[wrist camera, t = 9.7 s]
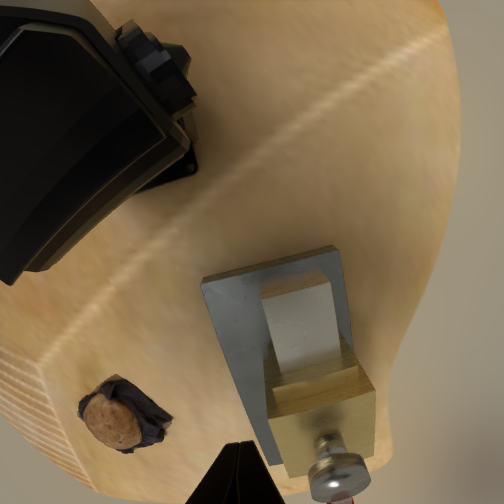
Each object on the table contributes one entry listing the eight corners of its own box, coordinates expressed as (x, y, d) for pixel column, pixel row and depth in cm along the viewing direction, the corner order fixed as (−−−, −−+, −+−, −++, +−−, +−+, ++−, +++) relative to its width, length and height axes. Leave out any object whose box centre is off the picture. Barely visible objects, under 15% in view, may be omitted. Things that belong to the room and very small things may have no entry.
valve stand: (268, 455, 24) (273, 529, 14) (203, 277, 19) (168, 348, 10) (354, 434, 23) (380, 503, 14) (332, 245, 19) (396, 292, 10)
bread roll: (132, 450, 25) (123, 473, 21) (73, 406, 23) (59, 427, 20) (186, 418, 23) (179, 446, 19) (114, 363, 22) (97, 388, 18)
